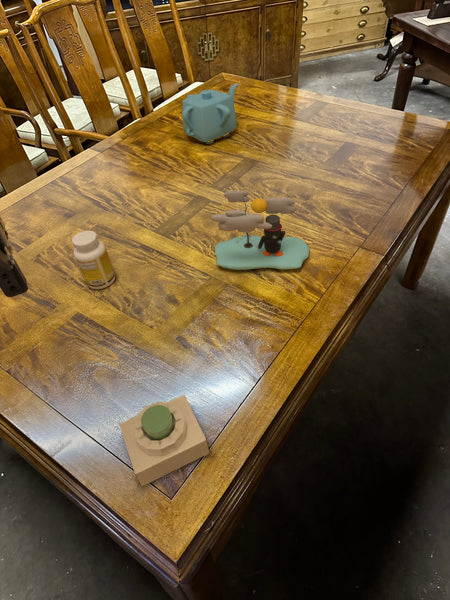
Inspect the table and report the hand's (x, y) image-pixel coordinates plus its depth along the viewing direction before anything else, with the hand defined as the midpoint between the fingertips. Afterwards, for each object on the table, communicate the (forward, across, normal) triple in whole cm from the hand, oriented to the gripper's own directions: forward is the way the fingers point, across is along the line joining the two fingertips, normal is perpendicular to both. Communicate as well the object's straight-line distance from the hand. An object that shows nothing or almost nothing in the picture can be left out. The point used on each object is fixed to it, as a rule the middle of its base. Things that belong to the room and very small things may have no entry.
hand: (17, 290), depth 42 cm
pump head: (+23, +7, +8) cm, 26 cm away
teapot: (+29, -85, +58) cm, 107 cm away
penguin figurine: (+29, -23, +40) cm, 55 cm away
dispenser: (+29, +7, +8) cm, 31 cm away
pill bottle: (+29, -34, +8) cm, 46 cm away
